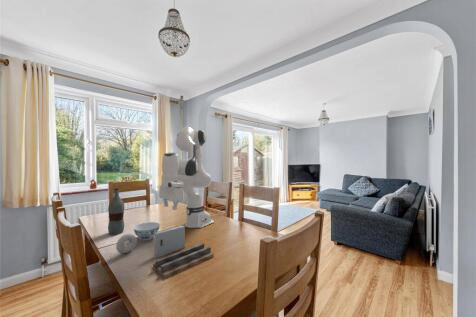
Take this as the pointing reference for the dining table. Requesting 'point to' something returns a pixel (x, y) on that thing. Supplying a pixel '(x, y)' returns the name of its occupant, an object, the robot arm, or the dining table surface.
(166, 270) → the track base
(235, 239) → the dining table surface
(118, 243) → the donut
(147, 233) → the chinaware
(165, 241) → the door panel
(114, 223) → the bottle
